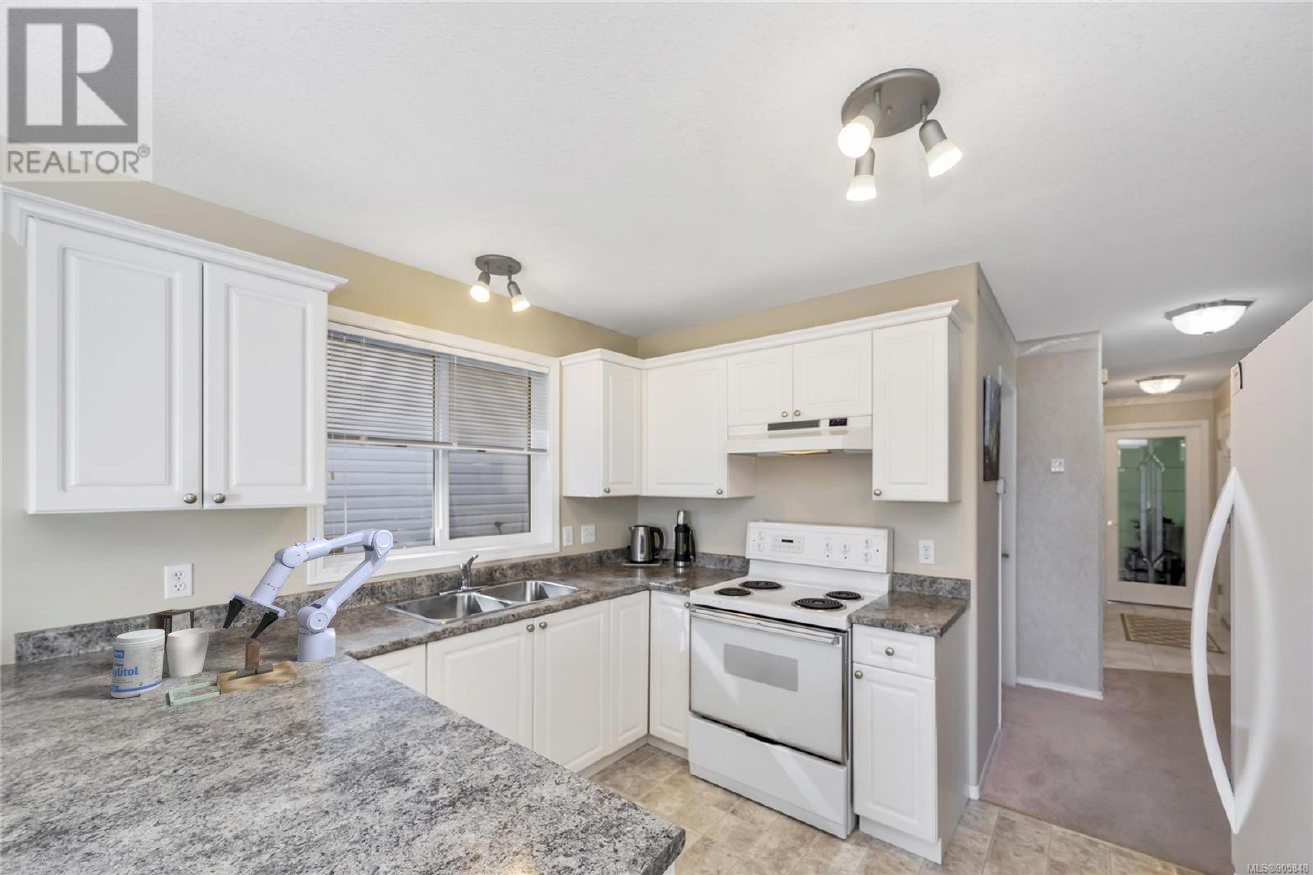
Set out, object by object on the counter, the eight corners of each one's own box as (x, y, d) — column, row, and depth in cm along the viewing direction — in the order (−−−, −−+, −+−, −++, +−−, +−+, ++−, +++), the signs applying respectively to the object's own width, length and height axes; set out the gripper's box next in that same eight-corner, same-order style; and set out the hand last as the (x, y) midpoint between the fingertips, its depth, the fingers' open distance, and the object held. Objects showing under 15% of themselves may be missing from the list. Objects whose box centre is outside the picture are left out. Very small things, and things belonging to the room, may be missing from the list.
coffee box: (193, 666, 163) (196, 610, 164) (169, 673, 157) (172, 615, 158) (169, 664, 165) (172, 608, 166) (145, 671, 159) (148, 613, 160)
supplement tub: (101, 701, 137) (105, 640, 138) (124, 687, 146) (128, 630, 147) (149, 696, 140) (153, 636, 141) (169, 683, 149) (172, 627, 150)
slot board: (288, 672, 156) (289, 660, 157) (296, 682, 149) (296, 668, 149) (216, 687, 145) (216, 674, 146) (220, 698, 138) (221, 684, 138)
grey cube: (270, 676, 151) (271, 663, 151) (273, 679, 148) (273, 666, 149) (254, 679, 148) (255, 666, 149) (256, 683, 146) (257, 669, 146)
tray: (213, 687, 146) (214, 680, 146) (218, 699, 138) (219, 692, 138) (168, 697, 139) (168, 689, 140) (170, 710, 131) (170, 702, 132)
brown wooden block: (255, 673, 156) (256, 640, 157) (258, 677, 153) (259, 644, 154) (244, 675, 155) (245, 642, 155) (247, 680, 151) (248, 645, 152)
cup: (169, 685, 148) (171, 638, 149) (160, 678, 153) (162, 633, 154) (211, 675, 155) (213, 631, 156) (201, 668, 161) (203, 626, 162)
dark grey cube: (252, 680, 148) (253, 666, 148) (254, 683, 146) (255, 669, 146) (236, 683, 146) (236, 669, 146) (237, 687, 143) (238, 672, 143)
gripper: (239, 574, 155) (206, 622, 148) (291, 593, 157) (260, 642, 150) (248, 577, 161) (216, 624, 155) (298, 596, 163) (268, 643, 157)
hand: (238, 633), depth 153 cm, fingers open, 7 cm apart
